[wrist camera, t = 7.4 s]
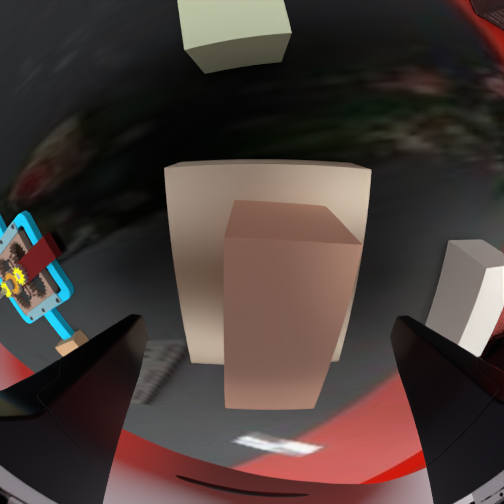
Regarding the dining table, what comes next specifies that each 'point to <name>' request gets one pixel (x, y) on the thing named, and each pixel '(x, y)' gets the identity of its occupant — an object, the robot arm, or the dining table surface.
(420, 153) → the dining table surface
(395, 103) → the dining table surface
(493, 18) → the box
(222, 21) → the olive brick
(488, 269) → the cream brick
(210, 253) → the beech slab
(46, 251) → the gear mechanism
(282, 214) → the terracotta brick
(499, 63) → the dining table surface
